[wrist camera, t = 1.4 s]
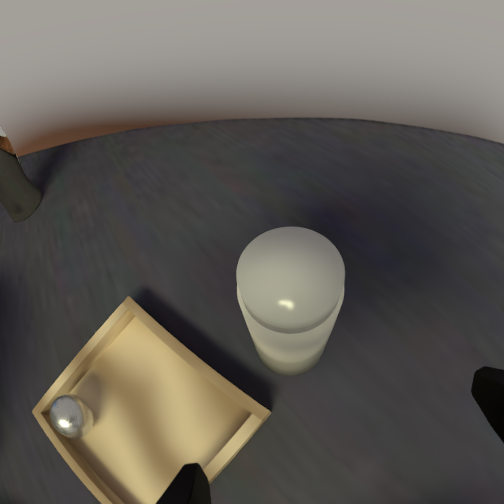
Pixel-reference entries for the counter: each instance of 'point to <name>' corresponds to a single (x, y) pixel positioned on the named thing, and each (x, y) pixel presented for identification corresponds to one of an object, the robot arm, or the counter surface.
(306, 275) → the ball
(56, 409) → the ball
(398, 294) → the counter surface
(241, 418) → the tray
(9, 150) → the beer glass
